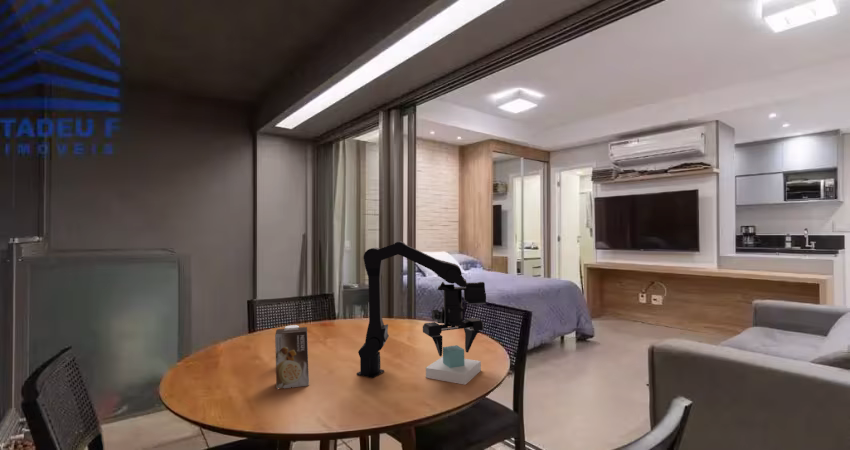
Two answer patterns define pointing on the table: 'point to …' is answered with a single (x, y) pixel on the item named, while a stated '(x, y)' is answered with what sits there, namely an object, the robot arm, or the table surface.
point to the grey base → (453, 371)
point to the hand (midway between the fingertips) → (453, 354)
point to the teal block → (453, 356)
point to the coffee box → (291, 357)
